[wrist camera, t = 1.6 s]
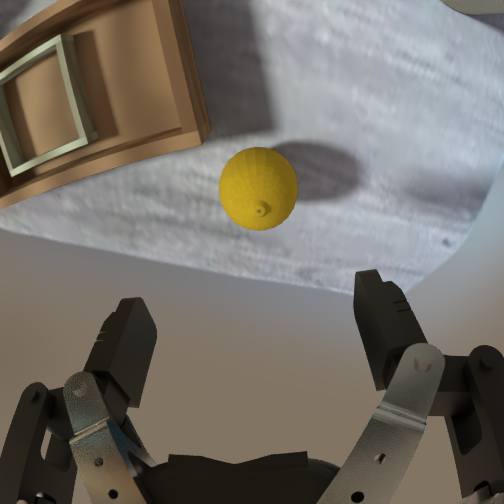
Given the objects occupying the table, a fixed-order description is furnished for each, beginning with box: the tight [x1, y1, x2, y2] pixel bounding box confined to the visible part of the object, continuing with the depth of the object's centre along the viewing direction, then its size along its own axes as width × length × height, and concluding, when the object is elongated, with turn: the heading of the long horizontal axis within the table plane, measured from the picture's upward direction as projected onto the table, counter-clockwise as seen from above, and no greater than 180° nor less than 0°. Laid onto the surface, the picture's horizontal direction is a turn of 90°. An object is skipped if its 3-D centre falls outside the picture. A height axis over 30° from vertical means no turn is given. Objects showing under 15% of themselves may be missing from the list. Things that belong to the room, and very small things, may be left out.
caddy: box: [0, 0, 211, 210], centre depth 19 cm, size 22×14×5 cm, turn 100°
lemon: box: [219, 147, 298, 231], centre depth 22 cm, size 6×6×8 cm
